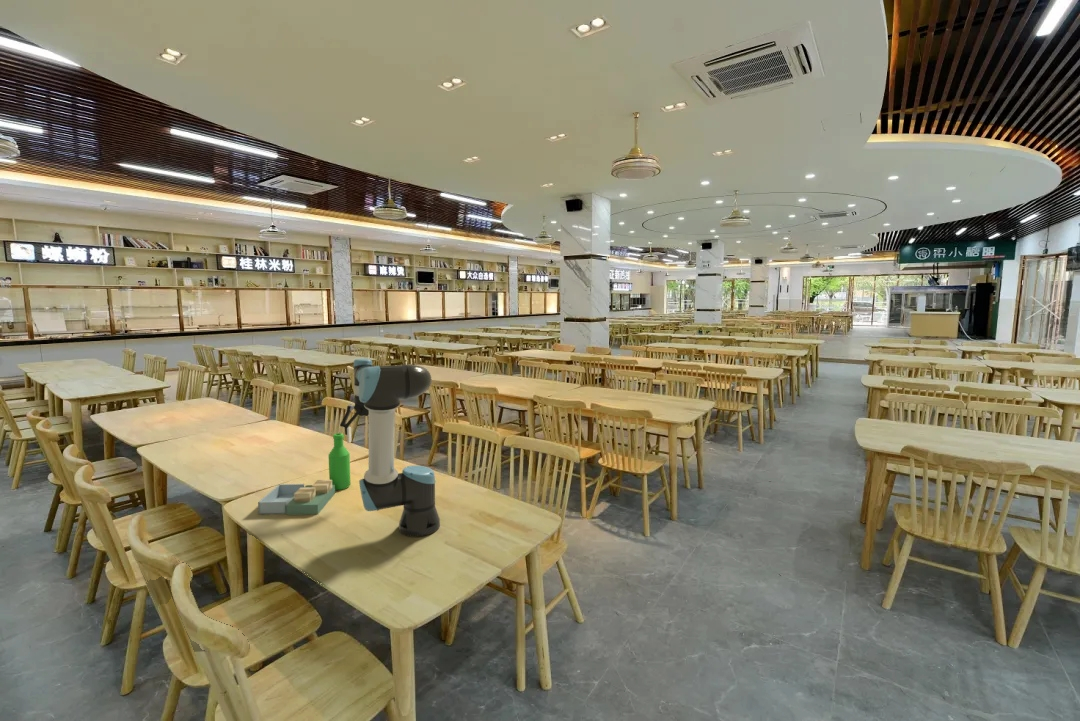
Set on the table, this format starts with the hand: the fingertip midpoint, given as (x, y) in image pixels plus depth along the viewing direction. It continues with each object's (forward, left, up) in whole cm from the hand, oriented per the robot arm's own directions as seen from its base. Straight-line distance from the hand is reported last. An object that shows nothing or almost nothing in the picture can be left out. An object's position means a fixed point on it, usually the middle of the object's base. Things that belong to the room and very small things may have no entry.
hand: (365, 442), depth 202 cm
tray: (-9, +32, -24) cm, 40 cm away
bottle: (+8, +14, -24) cm, 29 cm away
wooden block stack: (-5, +17, -20) cm, 26 cm away
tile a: (-13, +21, -20) cm, 32 cm away
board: (-9, +20, -24) cm, 32 cm away
